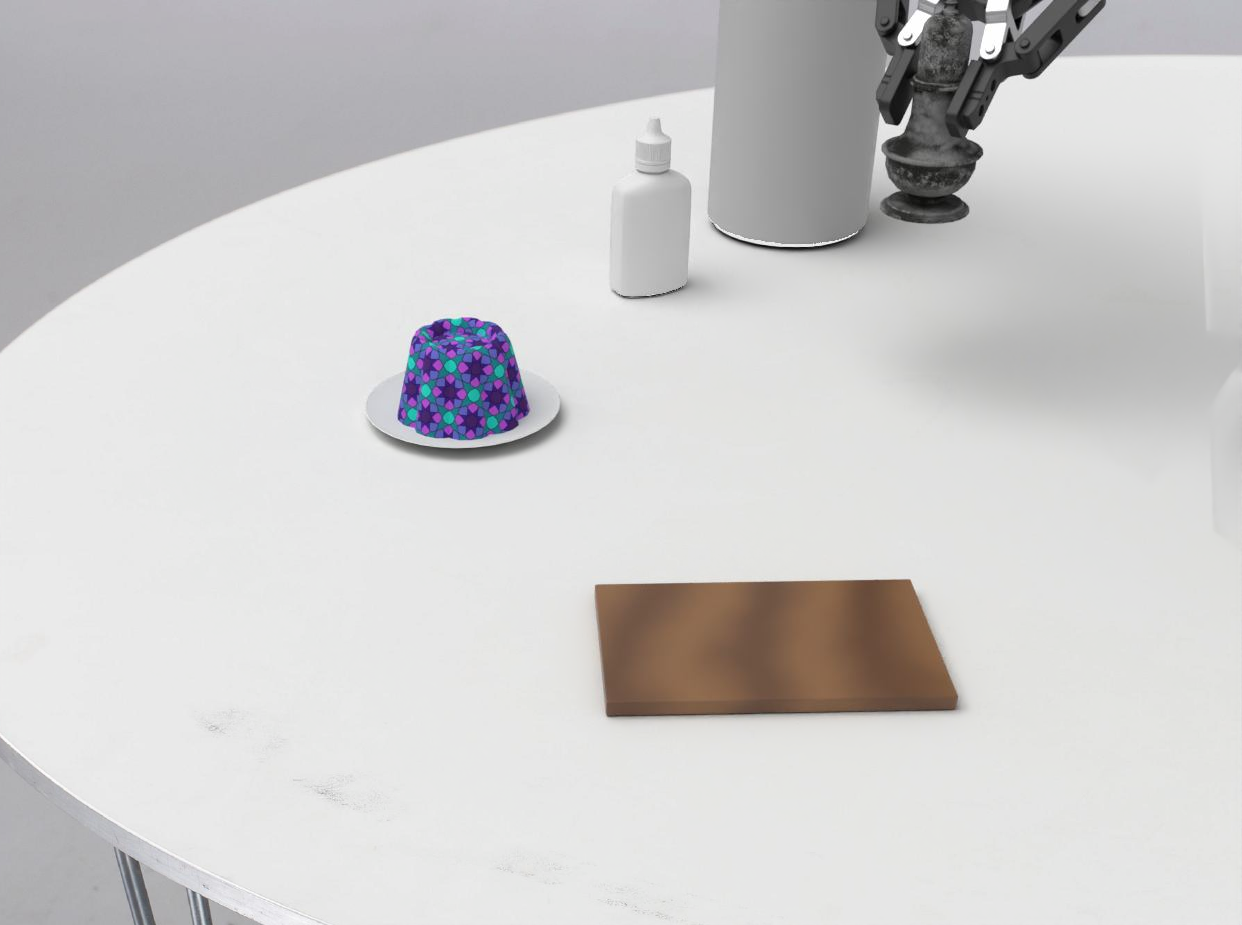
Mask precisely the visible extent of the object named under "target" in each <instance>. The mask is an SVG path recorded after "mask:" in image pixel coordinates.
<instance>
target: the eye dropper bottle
mask: <svg viewBox="0 0 1242 925" xmlns="http://www.w3.org/2000/svg"><path fill="white" fill-rule="evenodd" d="M647 121H648V122H647V125H646V126H647V127H646V130H645V132H644V133H642V134H638V136H637V137H635V151H634V152H635V153H634V154H635V155H634V156H635V157H634V168H635V170H632V171H631V172H628V173H627V174H625V175H623V176H622V177H621V178H619V179H618V180H617V181H616V182H615V184H614V185H613V186H612V189H611V197H610V199H611V200H610V201H611V202H610V224H609V228H610V229H609V266H608V268H609V270H608V284H609V287H610V289H612V290H613V291H614V292H615V291H616V292H615V293H616V294H618V295H619V294H620V295H619V296H621V295H623V296H647V295H652V294H654V295H655V294H661V293H664V292H669V291H672V290H675V291H677V290H679V289H678V288H679V287H681V288H683V287H685V285H686V284H687V282H688V275H689V274H688V273H689V258H690V257H689V255H690V236H691V219H692V218H691V216H692V184H691V182H690V180H689V178H688V177H686V176H685V175H684V174H682V173H681V172H679V171H677V170H674V169H670V168H671V159H672V158H671V157H672V137H670V136H669V135H668V134H665V133H664V132H663V131H662V125H661V118H660V116H658V115H651V116H649V118H648V120H647ZM682 286H683V287H682ZM676 289H677V290H676ZM672 292H673V291H672ZM669 293H670V292H669ZM661 295H662V294H661ZM623 296H622V297H623Z"/></svg>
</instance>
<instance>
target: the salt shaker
mask: <svg viewBox="0 0 1242 925" xmlns="http://www.w3.org/2000/svg"><path fill="white" fill-rule="evenodd" d="M945 3H946V4H947V7H946V9H943V10H942V11H941V12H939V13H936V14H934V15H932V16H931V17H929V18H928V19H927V20H926V22H925V23H924V25H923V29H922V37H921V45H920V53H919V61H918V70H917V74H915V75H913V76H912V77H911V78H910V80H909V83H910V84H911V85H912V86H913V87H914V91H913V98H912V100H911V109H910V114H909V118H908V121H907V123H906V126H905V129H904V131H903V132H902V133H901V134H900V135H896V136H893V137H892V136H891V137H890V138H888V139H886V140H885V141H884V142H883V143H882V144H881V148H880V149H881V152H882V153H883V155H884V156H885V161H884V166H885V169H886V174H887V177H888V179H889V180H890V182H892V184H893V185H894V186H895V188H896V189H898V190H899V191H898V190H897V191H895V192H893V193H891V194H890V195H888V196H886V197H884V198H883V199H882V200H881V201H880V203H879V210H880V211H881V212H882V214H884V215H886V216H887V217H889V218H893V219H894V220H898V221H903V222H908V223H912V224H921V225H922V224H923V225H938V224H939V225H941V224H948V223H954V222H958V221H961V220H963V219H965V218H967V216H968V215H969V214H970V206H969V205H968V203H967V202H966V201H964V200H962V199H961V198H960V196H958V195H956V194H955V193H957V192H958V191H960V190H961V189H962V188H964V186H966V185H967V184H968V183H969V181H970V179H971V177H972V176H973V174H974V172H975V170H976V166H977V161H979V160H980V159H981V158H982V157H983V156H984V149H983V147H982V146H981V145H980V144H979V143H977V142H975V141H973V140H971V139H968V138H967V137H966V136H965V138H963V139H962V138H957V137H951V136H950V134H949V131H948V129H947V126H946V124H945V115H946V112H947V109H948V107H949V105H950V103H951V101H952V99H953V97H954V95H955V93H956V91H957V89H958V86H959V84H960V82H961V80H962V78H963V76H964V74H965V72H966V70H967V68H968V66H969V63H970V56H971V50H972V43H973V35H974V25H973V24H974V23H972V22H973V21H971V20H970V19H969V18H968V17H967V16H965V15H964V14H962V13H960V12H959V11H958V10H956V9H955V4H956V3H958V2H957V1H956V0H947V1H945Z"/></svg>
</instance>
